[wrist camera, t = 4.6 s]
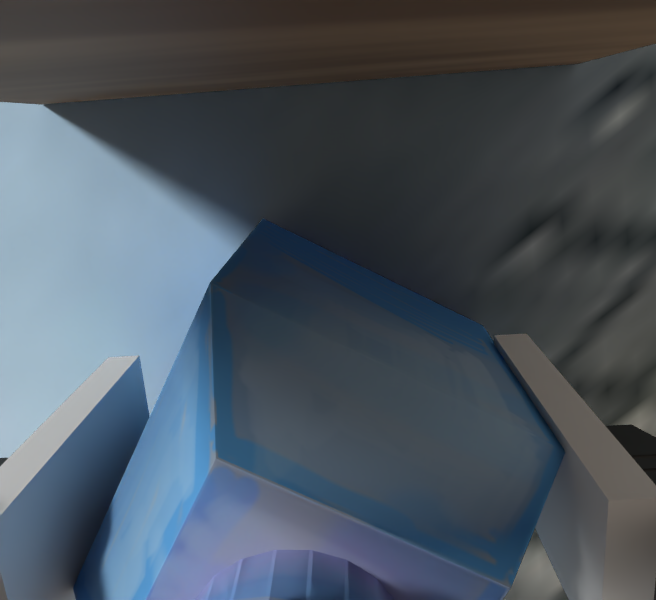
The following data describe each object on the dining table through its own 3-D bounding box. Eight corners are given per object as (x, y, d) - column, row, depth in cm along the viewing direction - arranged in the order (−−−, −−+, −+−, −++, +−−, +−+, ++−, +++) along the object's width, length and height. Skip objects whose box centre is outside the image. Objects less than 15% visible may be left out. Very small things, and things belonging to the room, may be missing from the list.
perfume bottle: (169, 421, 17) (-214, 1082, 5) (262, 218, 15) (6, 532, 4) (371, 511, 17) (425, 1277, 6) (482, 325, 16) (856, 881, 4)
